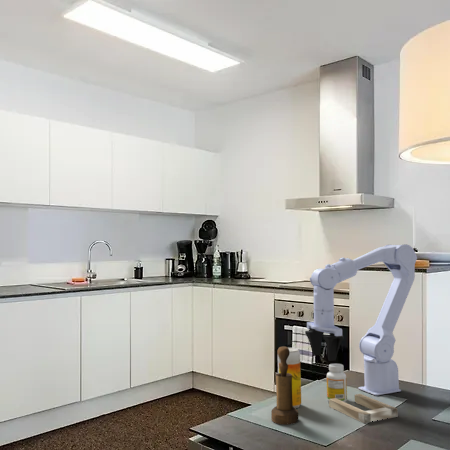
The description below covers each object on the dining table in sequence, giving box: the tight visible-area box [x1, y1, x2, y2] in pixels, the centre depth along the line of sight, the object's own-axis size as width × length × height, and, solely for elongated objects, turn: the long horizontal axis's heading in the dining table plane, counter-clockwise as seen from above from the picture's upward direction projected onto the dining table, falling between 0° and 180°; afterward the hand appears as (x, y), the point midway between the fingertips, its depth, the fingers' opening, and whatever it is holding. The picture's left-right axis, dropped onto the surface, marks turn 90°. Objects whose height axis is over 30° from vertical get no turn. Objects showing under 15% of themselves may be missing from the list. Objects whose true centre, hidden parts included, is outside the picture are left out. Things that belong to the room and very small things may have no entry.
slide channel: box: [328, 393, 398, 424], centre depth 126 cm, size 10×14×2 cm
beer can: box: [277, 347, 302, 409], centre depth 132 cm, size 6×6×15 cm
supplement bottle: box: [326, 363, 348, 403], centre depth 136 cm, size 5×5×10 cm
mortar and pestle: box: [271, 345, 299, 426], centre depth 121 cm, size 7×6×18 cm
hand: (324, 357), depth 141 cm, fingers open, 7 cm apart
